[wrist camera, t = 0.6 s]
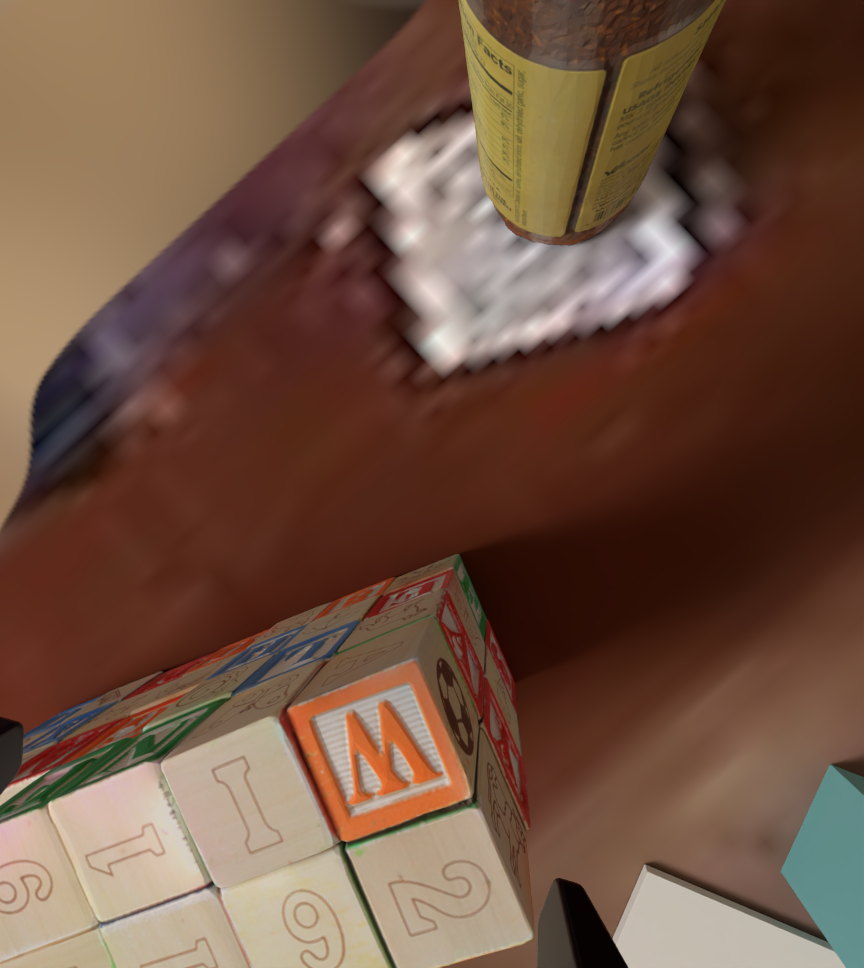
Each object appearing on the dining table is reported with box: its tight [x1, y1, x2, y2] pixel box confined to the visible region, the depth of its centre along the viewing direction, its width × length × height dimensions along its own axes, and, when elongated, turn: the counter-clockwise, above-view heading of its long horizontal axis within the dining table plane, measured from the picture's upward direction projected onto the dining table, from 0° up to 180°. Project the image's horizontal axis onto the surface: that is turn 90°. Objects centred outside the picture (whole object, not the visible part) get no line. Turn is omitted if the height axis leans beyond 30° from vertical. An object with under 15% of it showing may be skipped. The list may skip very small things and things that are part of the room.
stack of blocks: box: [0, 554, 535, 968], centre depth 18 cm, size 21×6×12 cm, turn 114°
